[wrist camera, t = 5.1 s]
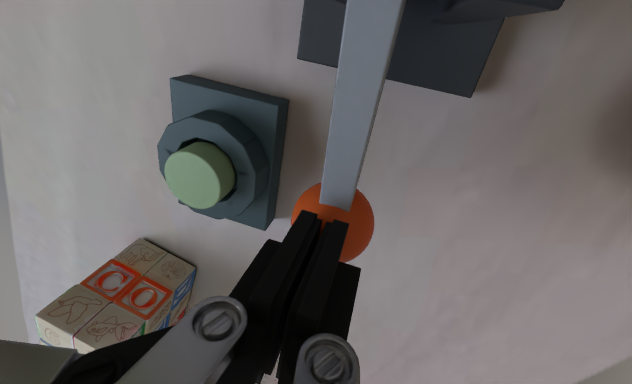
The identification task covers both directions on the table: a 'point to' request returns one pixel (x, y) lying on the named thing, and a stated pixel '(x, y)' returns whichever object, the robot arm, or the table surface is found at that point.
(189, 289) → the stack of blocks
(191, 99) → the dark piece
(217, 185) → the green round button
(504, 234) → the table surface
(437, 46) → the switch bracket
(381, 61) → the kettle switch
